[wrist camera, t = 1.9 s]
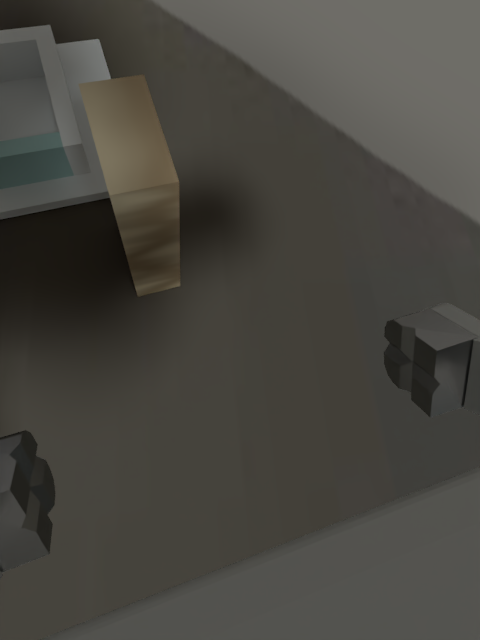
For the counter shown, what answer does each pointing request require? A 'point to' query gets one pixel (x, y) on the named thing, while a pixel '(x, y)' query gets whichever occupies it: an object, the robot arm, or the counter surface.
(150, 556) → the counter surface
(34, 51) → the white square socket base
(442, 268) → the counter surface
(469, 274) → the counter surface
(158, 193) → the wooden block
